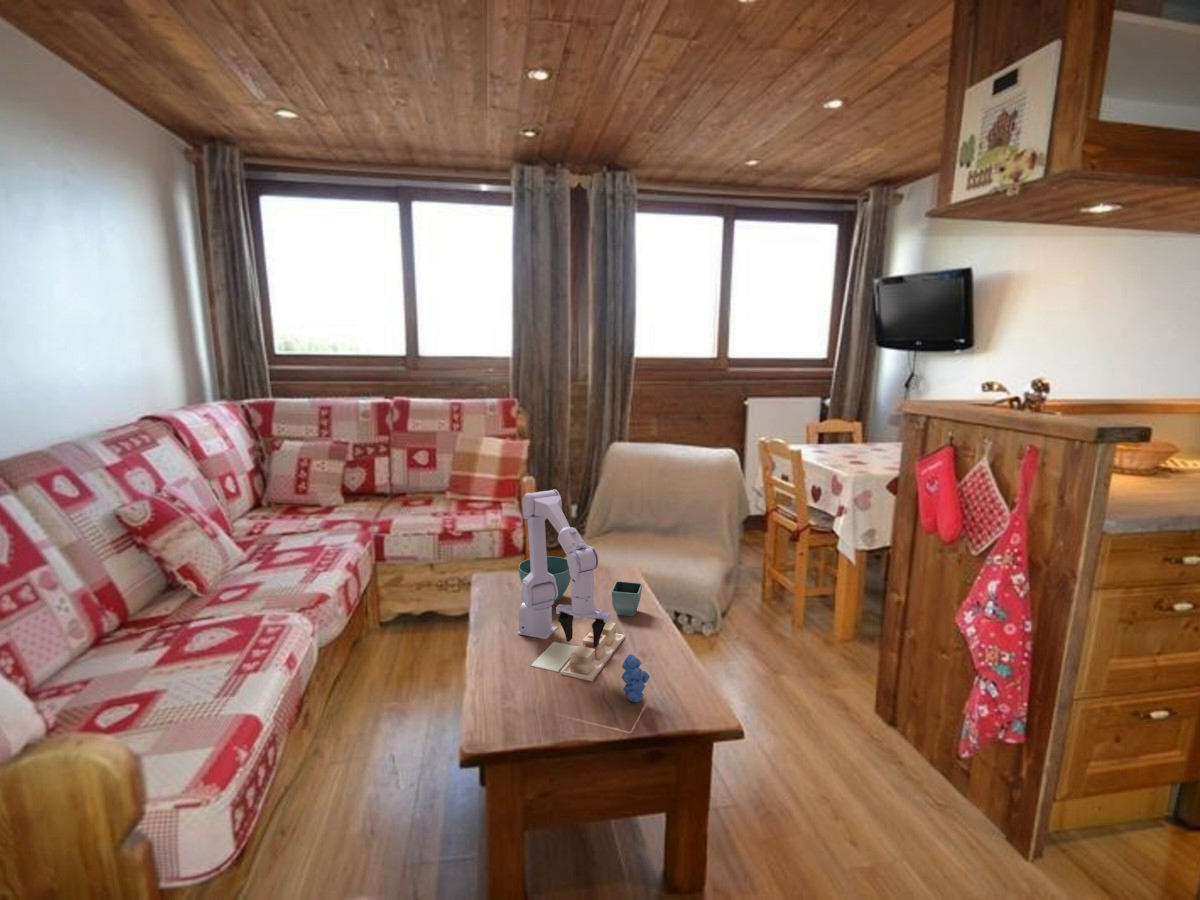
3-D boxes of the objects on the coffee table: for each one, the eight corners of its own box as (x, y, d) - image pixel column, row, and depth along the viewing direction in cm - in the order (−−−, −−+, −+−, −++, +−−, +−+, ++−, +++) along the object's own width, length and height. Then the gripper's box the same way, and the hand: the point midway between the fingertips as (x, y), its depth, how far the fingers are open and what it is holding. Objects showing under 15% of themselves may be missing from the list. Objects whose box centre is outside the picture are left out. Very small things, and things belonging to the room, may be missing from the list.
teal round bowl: (510, 606, 197) (509, 571, 195) (532, 586, 214) (531, 553, 212) (561, 614, 192) (561, 577, 190) (580, 592, 209) (579, 558, 207)
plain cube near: (570, 671, 157) (570, 654, 156) (577, 662, 162) (577, 645, 161) (587, 675, 155) (587, 657, 154) (595, 666, 160) (595, 648, 159)
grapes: (657, 712, 140) (658, 665, 138) (630, 716, 139) (630, 669, 137) (642, 685, 151) (643, 641, 149) (616, 689, 150) (617, 644, 148)
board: (530, 667, 160) (530, 665, 160) (553, 643, 173) (553, 641, 173) (557, 673, 157) (557, 671, 157) (579, 648, 170) (579, 646, 170)
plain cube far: (593, 643, 172) (593, 627, 171) (600, 636, 177) (600, 620, 176) (610, 646, 170) (610, 630, 169) (616, 639, 175) (616, 623, 174)
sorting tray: (560, 675, 156) (560, 671, 156) (596, 633, 179) (596, 629, 179) (592, 682, 153) (592, 678, 153) (624, 638, 176) (624, 634, 176)
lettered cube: (582, 657, 164) (582, 639, 164) (589, 648, 169) (589, 631, 168) (599, 660, 163) (599, 643, 162) (606, 652, 167) (606, 634, 166)
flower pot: (638, 620, 188) (638, 593, 186) (610, 618, 189) (611, 591, 188) (642, 608, 196) (642, 583, 195) (615, 606, 198) (615, 580, 196)
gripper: (550, 595, 154) (551, 644, 156) (603, 604, 149) (602, 655, 151) (562, 585, 160) (562, 632, 163) (613, 593, 155) (612, 642, 157)
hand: (582, 642), depth 157 cm, fingers open, 7 cm apart
